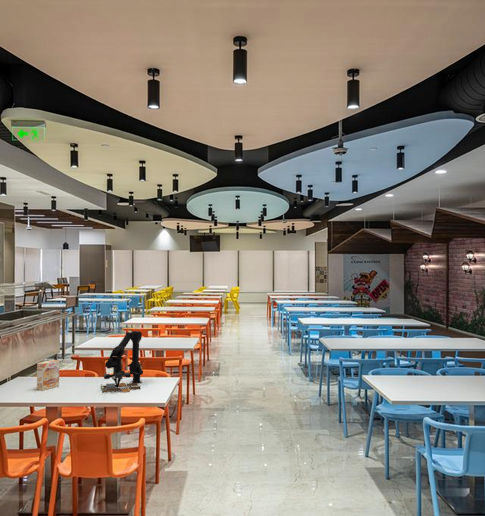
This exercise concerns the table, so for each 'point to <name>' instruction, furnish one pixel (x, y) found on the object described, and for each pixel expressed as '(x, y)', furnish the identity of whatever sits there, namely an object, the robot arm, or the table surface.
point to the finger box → (120, 388)
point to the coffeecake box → (47, 374)
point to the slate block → (110, 386)
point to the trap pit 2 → (126, 390)
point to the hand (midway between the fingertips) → (117, 387)
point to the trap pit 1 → (122, 384)
